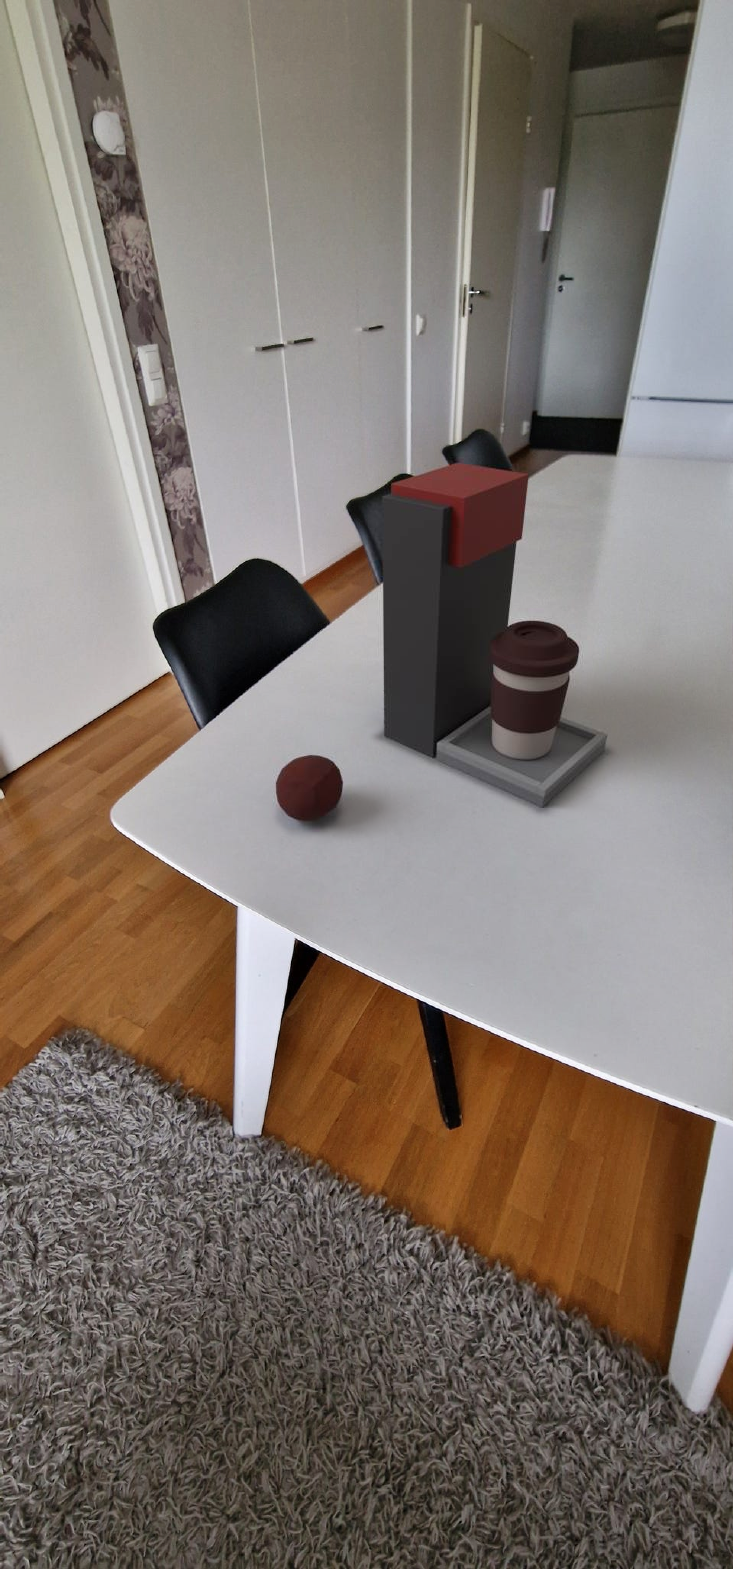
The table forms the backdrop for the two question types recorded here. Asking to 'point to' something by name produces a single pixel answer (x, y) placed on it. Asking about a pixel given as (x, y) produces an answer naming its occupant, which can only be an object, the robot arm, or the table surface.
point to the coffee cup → (529, 686)
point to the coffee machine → (460, 626)
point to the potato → (309, 787)
